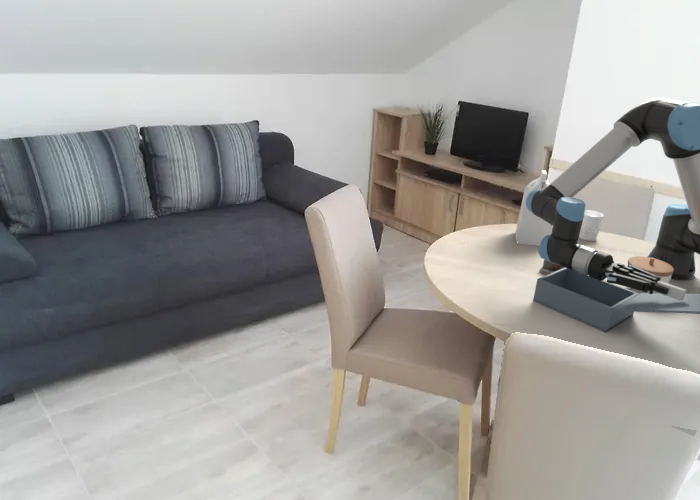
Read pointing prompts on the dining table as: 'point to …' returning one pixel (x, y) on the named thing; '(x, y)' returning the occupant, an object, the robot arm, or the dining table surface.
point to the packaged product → (549, 267)
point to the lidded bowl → (652, 268)
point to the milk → (532, 217)
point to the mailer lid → (661, 304)
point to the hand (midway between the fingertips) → (683, 295)
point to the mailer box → (583, 298)
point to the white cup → (591, 225)
